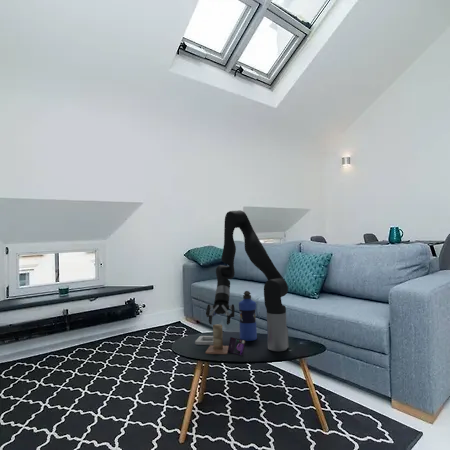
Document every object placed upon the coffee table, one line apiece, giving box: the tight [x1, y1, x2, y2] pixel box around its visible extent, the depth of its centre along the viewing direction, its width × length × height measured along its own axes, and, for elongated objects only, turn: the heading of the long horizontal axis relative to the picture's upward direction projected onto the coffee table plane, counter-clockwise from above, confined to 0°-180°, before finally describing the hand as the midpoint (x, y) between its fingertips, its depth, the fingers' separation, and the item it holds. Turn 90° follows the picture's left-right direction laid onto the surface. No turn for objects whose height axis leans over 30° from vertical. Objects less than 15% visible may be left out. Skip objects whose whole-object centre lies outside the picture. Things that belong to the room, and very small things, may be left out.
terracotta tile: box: [205, 345, 229, 355], centre depth 160 cm, size 10×10×1 cm
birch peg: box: [212, 323, 224, 350], centre depth 160 cm, size 4×4×11 cm
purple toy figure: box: [228, 336, 247, 357], centre depth 157 cm, size 7×5×9 cm
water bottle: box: [238, 290, 258, 342], centre depth 179 cm, size 9×9×25 cm
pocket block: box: [194, 335, 213, 346], centre depth 174 cm, size 10×10×2 cm
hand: (219, 323), depth 164 cm, fingers open, 8 cm apart
